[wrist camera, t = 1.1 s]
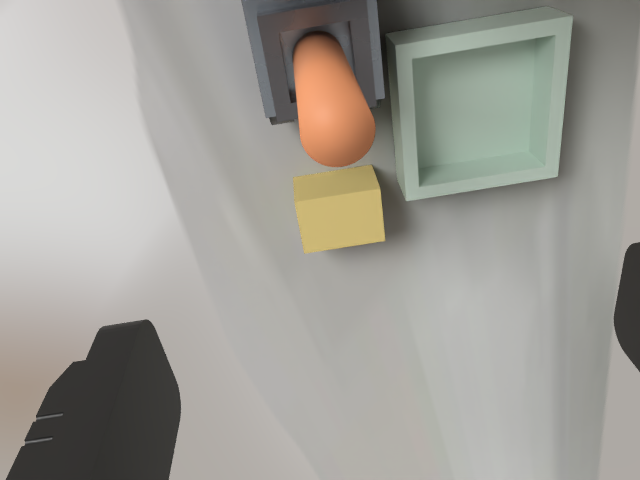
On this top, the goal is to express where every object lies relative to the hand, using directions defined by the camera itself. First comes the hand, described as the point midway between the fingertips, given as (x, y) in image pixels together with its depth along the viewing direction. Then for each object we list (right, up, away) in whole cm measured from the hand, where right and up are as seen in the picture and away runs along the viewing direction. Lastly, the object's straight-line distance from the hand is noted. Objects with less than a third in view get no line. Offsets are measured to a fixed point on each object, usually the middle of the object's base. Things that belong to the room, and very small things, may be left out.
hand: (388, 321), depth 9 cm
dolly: (-2, +13, +20) cm, 24 cm away
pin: (-1, +10, +16) cm, 19 cm away
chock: (0, +4, +26) cm, 26 cm away
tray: (+8, +10, +23) cm, 26 cm away
